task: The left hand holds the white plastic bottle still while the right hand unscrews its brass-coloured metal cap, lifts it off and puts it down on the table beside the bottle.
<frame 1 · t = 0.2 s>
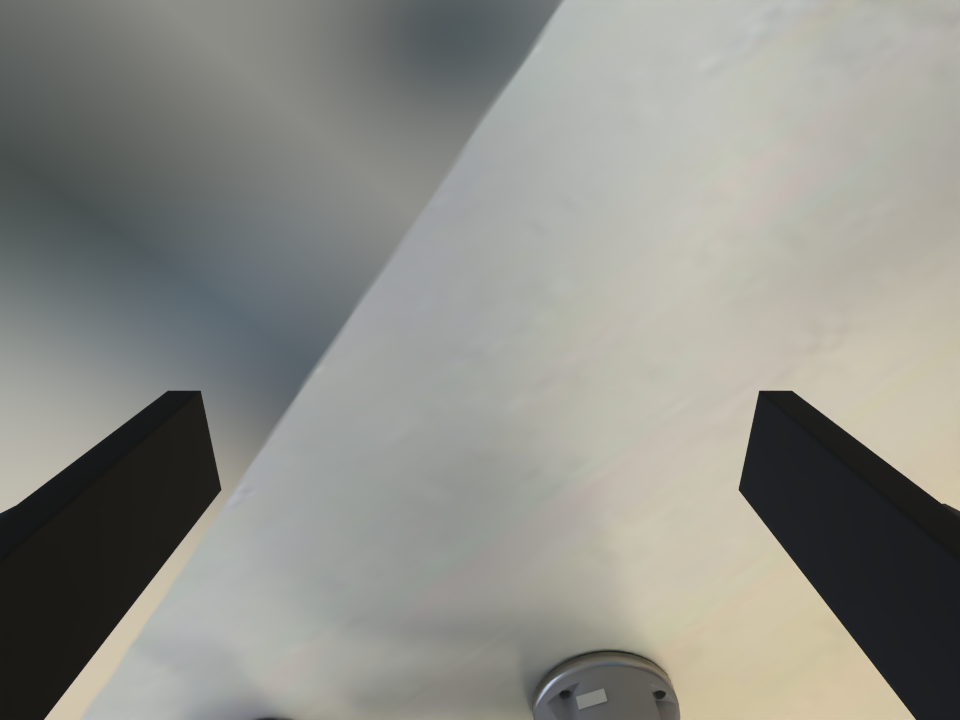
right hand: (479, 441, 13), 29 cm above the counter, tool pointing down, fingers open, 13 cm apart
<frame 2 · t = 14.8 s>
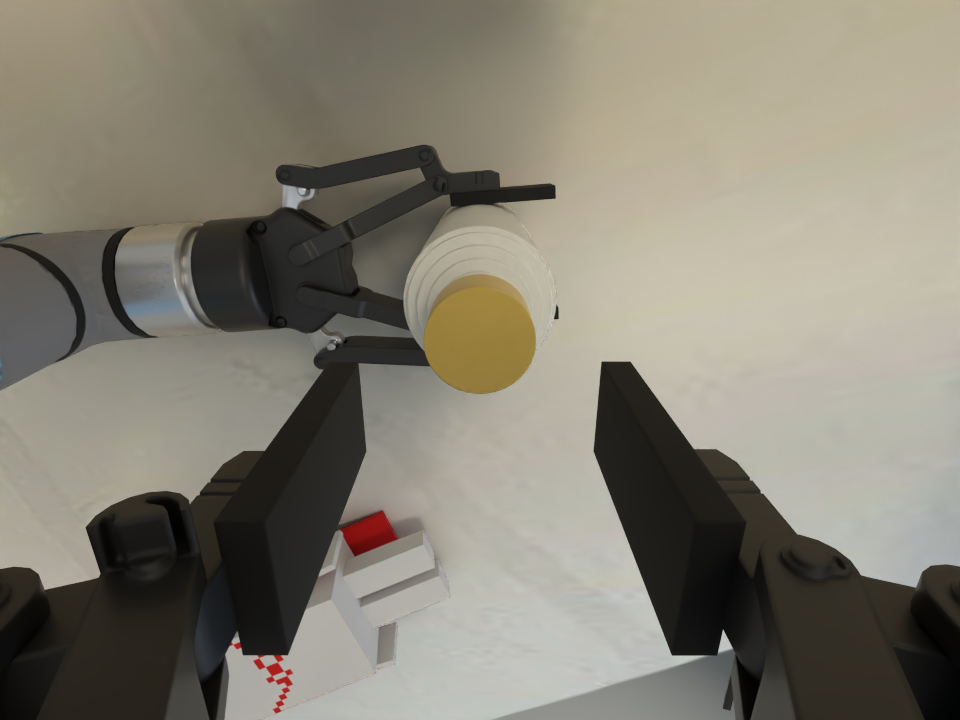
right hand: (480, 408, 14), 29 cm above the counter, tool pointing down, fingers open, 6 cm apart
left hand: (553, 251, 35), fingers closed on bottle, 7 cm apart
cap: (479, 340, 20), point 23 cm above the counter, screwed on, not yet turned
bottle: (479, 242, 42), on the counter, touching left hand
toy: (301, 574, 53), on the counter
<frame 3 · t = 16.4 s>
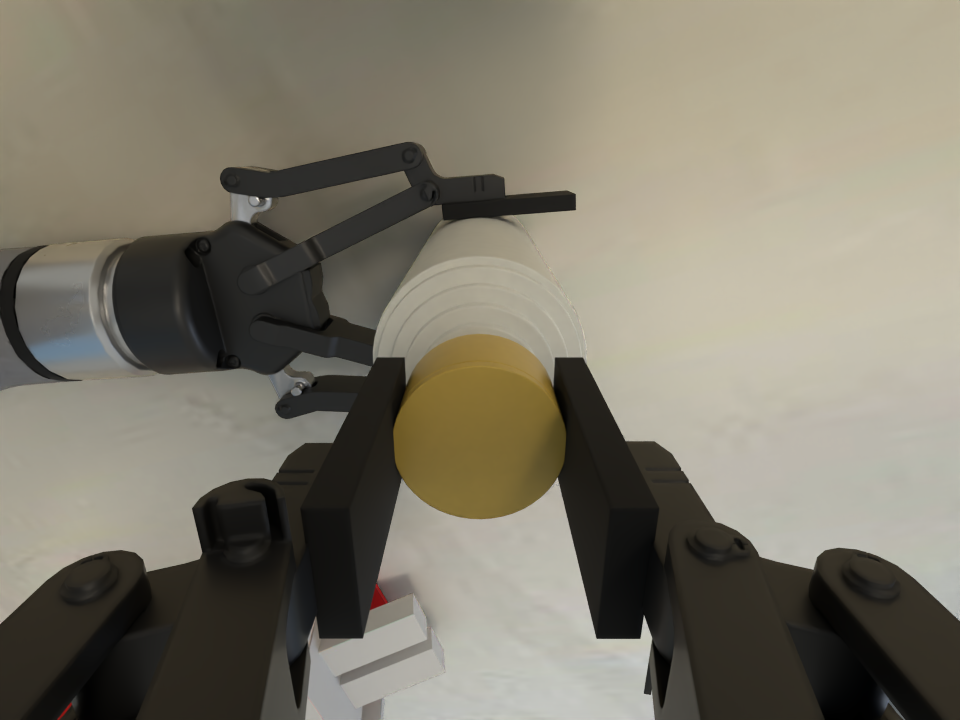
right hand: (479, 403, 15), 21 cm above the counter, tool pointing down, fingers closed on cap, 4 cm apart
left hand: (571, 275, 28), fingers closed on bottle, 7 cm apart
cap: (479, 440, 13), point 23 cm above the counter, screwed on, not yet turned, touching right hand
bottle: (479, 260, 35), on the counter, touching left hand
toy: (274, 636, 47), on the counter
when the right hand's fingers open (1 cm above the counter, at t = 35.0 s): cap stays where it is, point 2 cm above the counter.
when the left hand's fingers open (7 cm above the counter, at t = 36.3 s): bottle stays where it is, on the counter.
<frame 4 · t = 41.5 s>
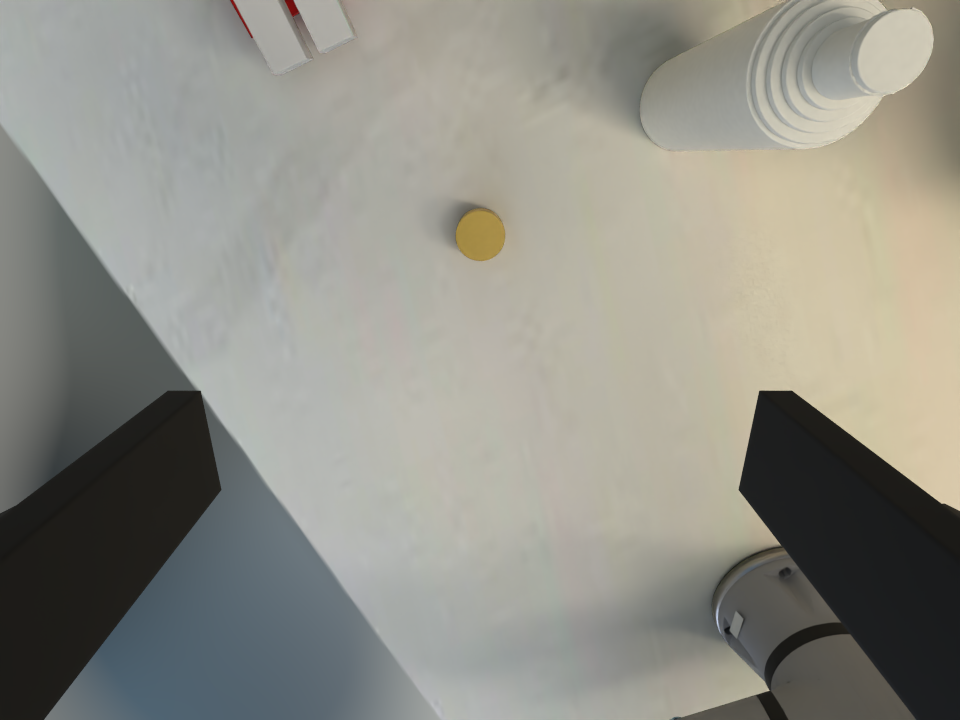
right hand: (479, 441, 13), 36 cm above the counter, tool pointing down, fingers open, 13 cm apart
cap: (480, 235, 44), point 2 cm above the counter, off its thread
bottle: (683, 104, 43), on the counter
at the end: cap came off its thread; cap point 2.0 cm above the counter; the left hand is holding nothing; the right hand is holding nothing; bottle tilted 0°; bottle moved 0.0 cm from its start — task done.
